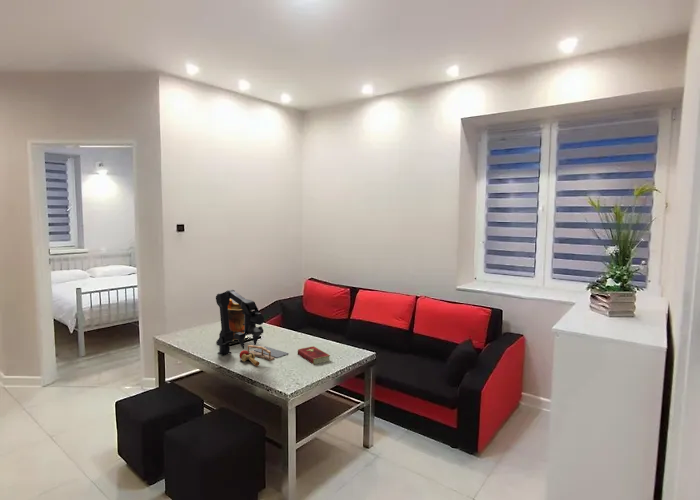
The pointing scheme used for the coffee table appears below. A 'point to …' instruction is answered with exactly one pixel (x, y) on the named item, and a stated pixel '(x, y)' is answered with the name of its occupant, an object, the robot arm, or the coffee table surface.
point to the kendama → (248, 357)
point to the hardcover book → (313, 355)
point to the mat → (272, 352)
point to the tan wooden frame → (261, 353)
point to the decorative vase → (235, 318)
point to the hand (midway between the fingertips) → (249, 346)
